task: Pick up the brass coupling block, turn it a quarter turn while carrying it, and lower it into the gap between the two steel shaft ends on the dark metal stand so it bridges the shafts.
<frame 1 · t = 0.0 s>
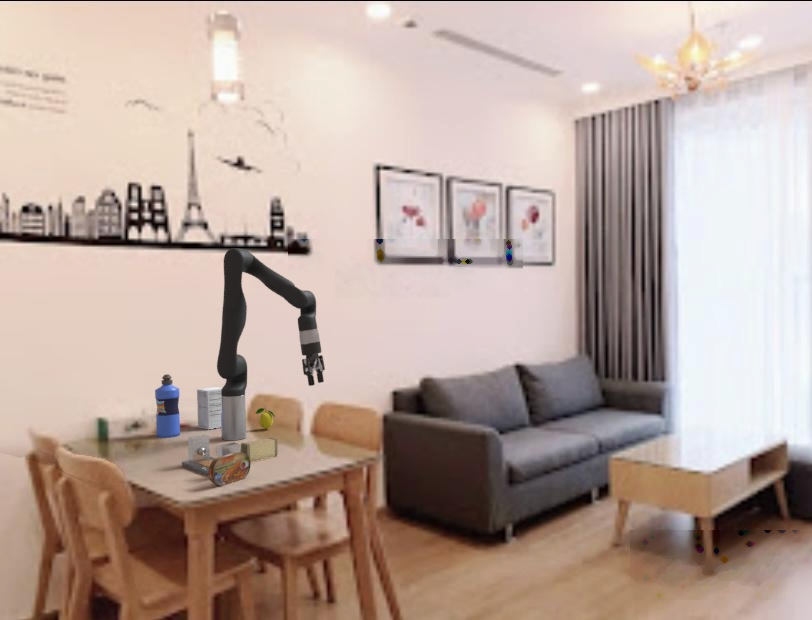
hand: (316, 383, 255), 22 cm above the table, tool pointing down, fingers open, 8 cm apart
supplement box: (212, 427, 290), on the table
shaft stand: (213, 469, 218), on the table
water bottle: (168, 436, 274), on the table
tin: (229, 482, 203), on the table
coupling block: (259, 458, 231), on the table
lemon: (265, 430, 282), on the table
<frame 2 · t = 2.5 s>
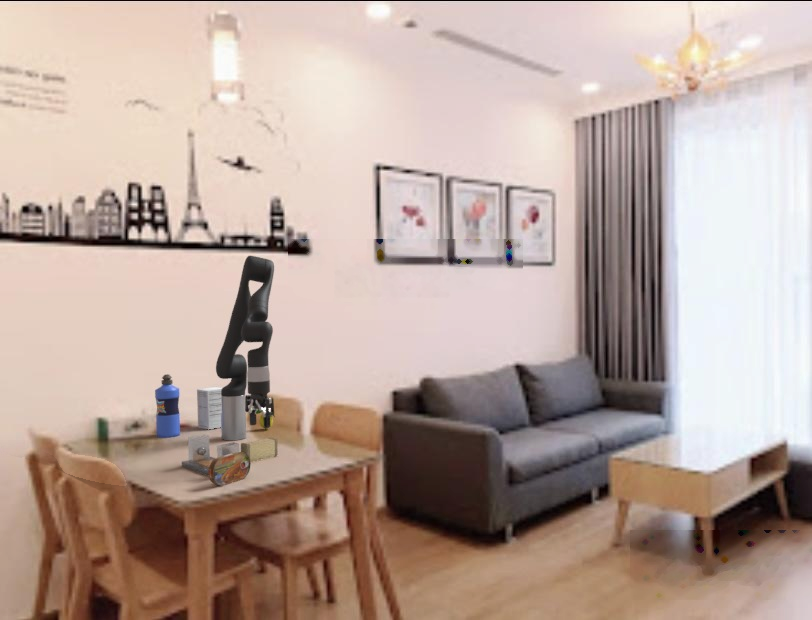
hand: (260, 426, 231), 11 cm above the table, tool pointing down, fingers open, 8 cm apart
nothing on the table moved.
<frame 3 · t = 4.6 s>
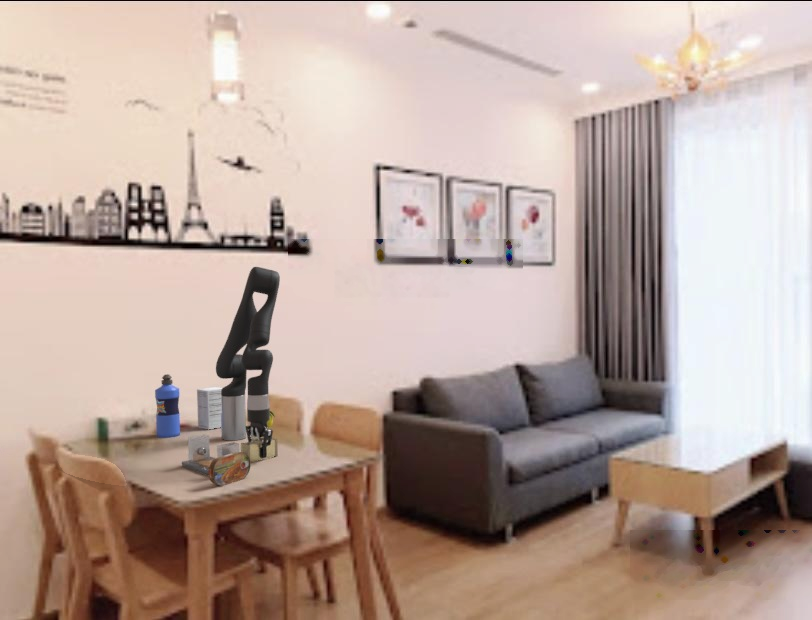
hand: (259, 456, 231), 1 cm above the table, tool pointing down, fingers closed on coupling block, 4 cm apart
coupling block: (259, 458, 231), on the table, touching gripper
everything else where it was.
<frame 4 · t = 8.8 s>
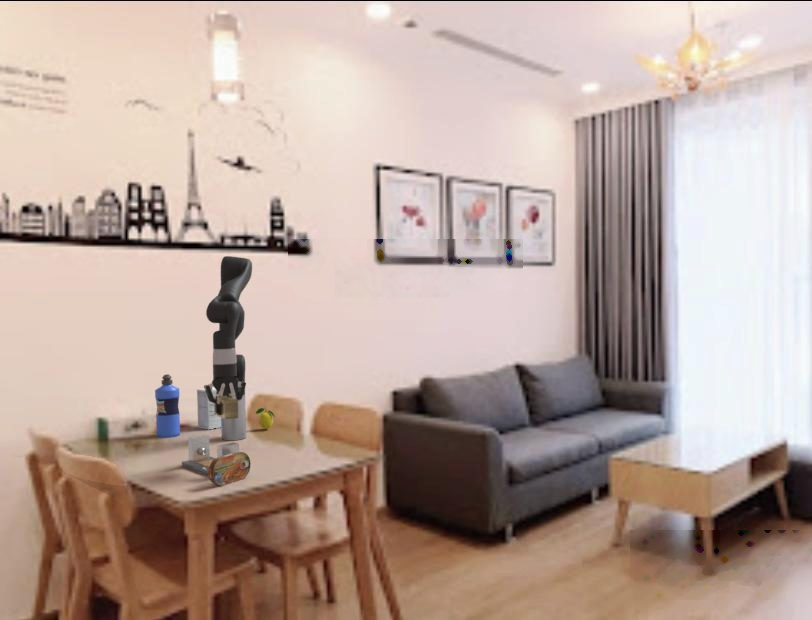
hand: (225, 414, 220), 18 cm above the table, tool pointing down, fingers closed on coupling block, 4 cm apart
coupling block: (226, 416, 220), point 17 cm above the table, touching gripper
everything else where it was.
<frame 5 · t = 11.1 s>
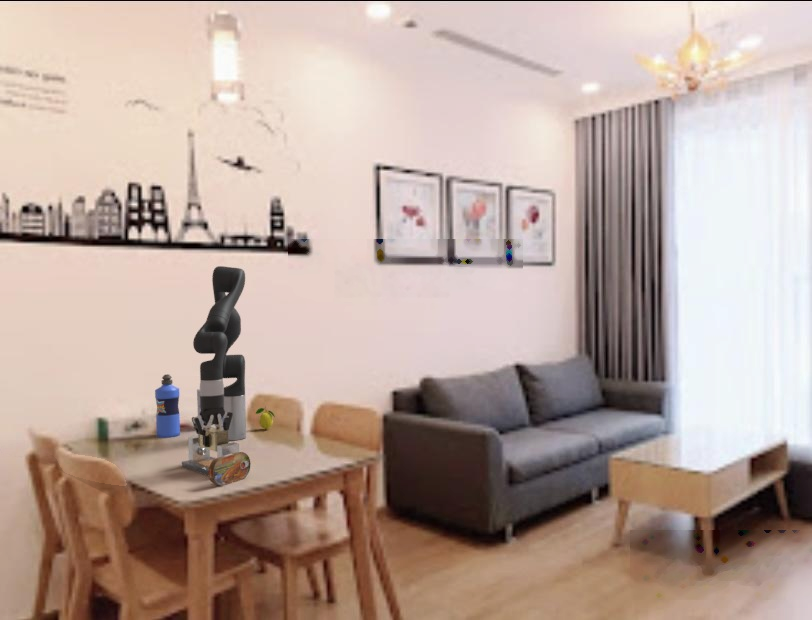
hand: (213, 445, 218), 8 cm above the table, tool pointing down, fingers closed on coupling block, 4 cm apart
coupling block: (213, 447, 218), point 7 cm above the table, touching gripper
everything else where it was.
when the fingers open (3 cm above the table, at t = 13.0 s): coupling block stays where it is, resting on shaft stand.
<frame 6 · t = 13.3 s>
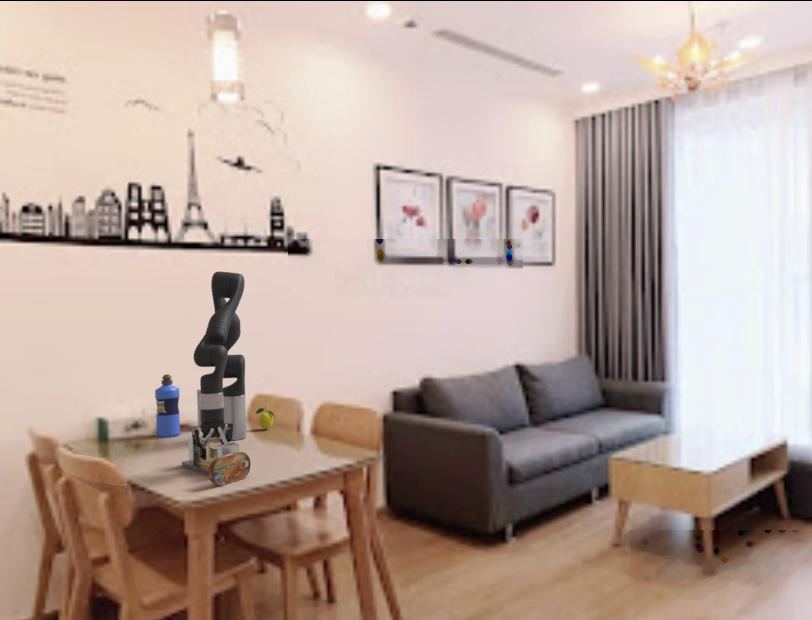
hand: (213, 457, 218), 4 cm above the table, tool pointing down, fingers open, 6 cm apart
coupling block: (213, 464, 218), point 2 cm above the table, touching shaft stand
everything else where it was.
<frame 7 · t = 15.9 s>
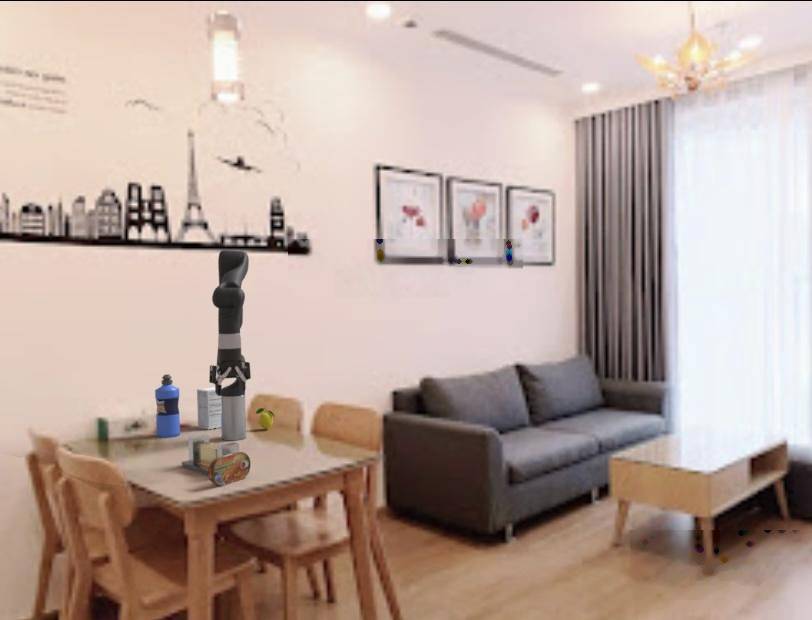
hand: (230, 394, 227), 23 cm above the table, tool pointing down, fingers open, 8 cm apart
nothing on the table moved.
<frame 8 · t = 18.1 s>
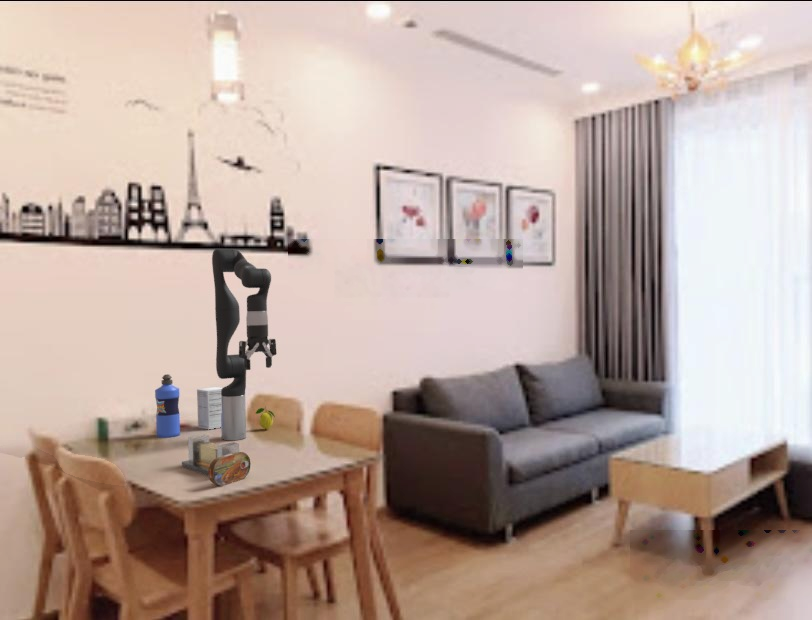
hand: (258, 368, 241), 30 cm above the table, tool pointing down, fingers open, 8 cm apart
nothing on the table moved.
at the end: coupling block 0.1 cm off-centre on the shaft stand, point 1.7 cm above the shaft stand's base; coupling block tilted 0°; the gripper is holding nothing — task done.
